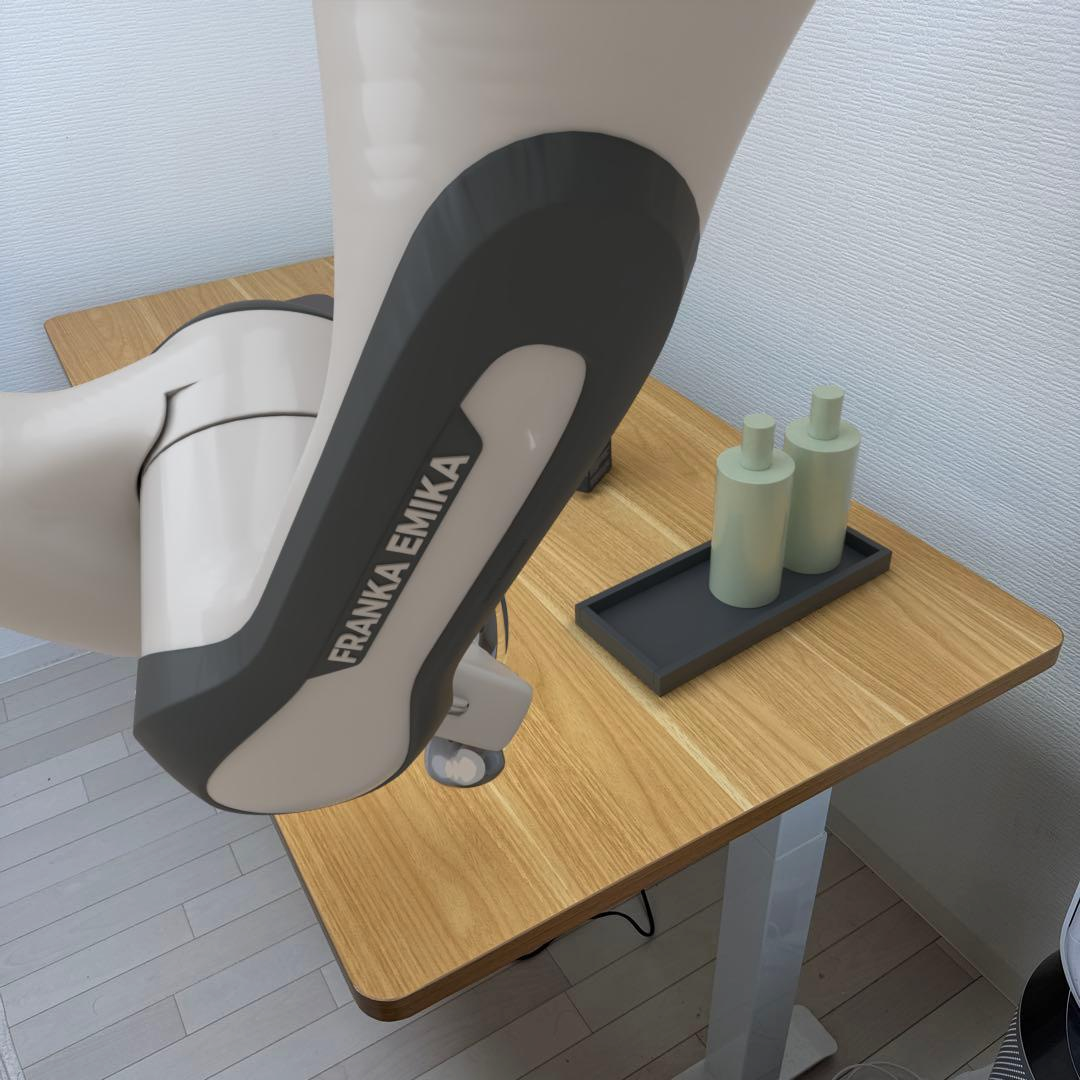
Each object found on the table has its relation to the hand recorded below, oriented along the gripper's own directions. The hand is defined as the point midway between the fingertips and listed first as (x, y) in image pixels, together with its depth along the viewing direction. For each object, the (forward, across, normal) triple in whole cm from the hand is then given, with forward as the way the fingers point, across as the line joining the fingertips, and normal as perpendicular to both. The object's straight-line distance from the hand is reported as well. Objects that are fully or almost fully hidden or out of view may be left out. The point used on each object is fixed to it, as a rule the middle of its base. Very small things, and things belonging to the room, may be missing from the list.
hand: (460, 649), depth 57 cm
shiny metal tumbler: (+6, 0, +6) cm, 9 cm away
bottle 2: (+42, +3, -18) cm, 45 cm away
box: (+39, +32, -14) cm, 52 cm away
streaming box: (+37, +82, -13) cm, 91 cm away
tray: (+36, +4, -11) cm, 38 cm away
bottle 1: (+36, +4, -12) cm, 38 cm away
